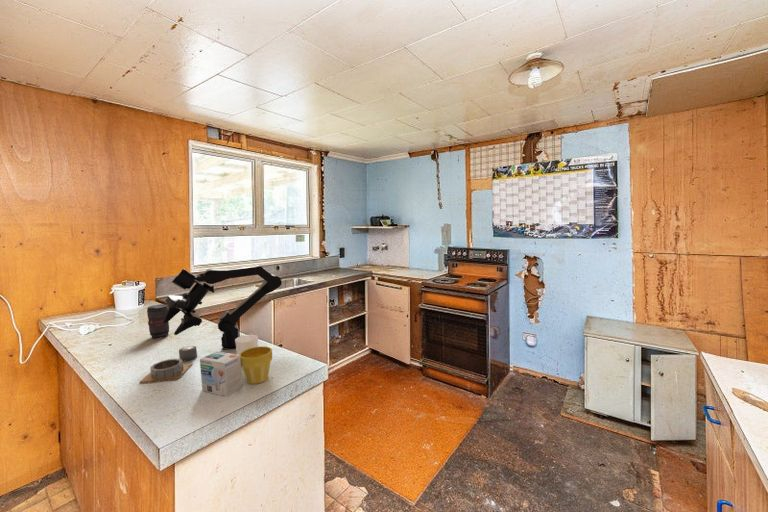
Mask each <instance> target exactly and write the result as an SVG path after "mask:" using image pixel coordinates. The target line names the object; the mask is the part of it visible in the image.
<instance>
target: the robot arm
mask: <svg viewBox="0 0 768 512" xmlns="http://www.w3.org/2000/svg"><path fill="white" fill-rule="evenodd" d="M251 276H258V277H260V278H261V279H263V281H262V283H261V285H260V286H259V287H258V288H257V289H256V290H255V291H253V292H251V294H249V296H247V298H245V299H244V300H243V301H242V302H241V303H239V304H238V305H237V306H236V307H235V308H234V309H232V310H230V311H229V310H228V309H226V310H224V312H223V313H222V314H220V315H219V318H218V319H217V329H218V331H220V332H222V336H221V347H222V348H221V350H232V349H233V348H234V349H236V343H235V339H236V338H238V337H240V335H241V334H240V333H241V332H240V329H239V326H238V324H237V323H238V321H239V320H240V318H241V317H242V316H244V314H246V312H248V311H249V310H250V309H251V308H252V307H254V306H255V305H256V304H257V303H258V302H259V301H260V300H262V298H264V297H265V296H266V295H268V294H270V293H273V292H274V291H275V290H277V289H279V288H280V287H281V286H282V279H281V277H279V276H278V275H277V274H273V273H270V272H269V271H268V270H267V269H264V268H263V266H261V265H259V264H256V265H252V266H245V267H235V268H228V269H227V268H226V269H225V268H208V269H206V270H205V271H204V272H202V273H200V274H196V275H195V274H193V273H192V272H190V271H188V270H187V269H185V268H182V270H181V271H179V273H178V274H177V275H176V276H175V277H174V279H172V281H171V283H172V284H174V285H175V286H177V287H179V288H180V289H183V290H184V291H185V290H189V292H187V293H186V292H185V293H183V294H182V295H168V296H167V298H166V299H165V300H164V301H165V305H167V308H168V310H167V313H166V316H165V318H164V321H163V323H167V322H168V321H169V322H170V321H171V320H172V319H173V318H174V317H175V316H177V315H178V314H179V313H180V312H182V314H183V317H182V318H180V320H181V322H180V324H179V325H178V326H177V328H176V330H175V331H174V333H173V335H175V336H177V335H179V334H181V333H183V332H184V331H186V330H189V329H190V328H193V327H197V326H199V327H200V325H201V324H202V322H203V319H202V318H201V316H199V315H198V314H196V312H197V310H195V309H196V308H197V307H198V306H199V305H202V304H203V302H202V300H203V299H204V298H205V296H206V295H207V294H208V293H209V291H210V292H211V293H215V285H214V284H217V283H221V282H223V281H227V280H229V279H236V278H243V277H251Z"/></svg>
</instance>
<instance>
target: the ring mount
mask: <svg viewBox="0 0 768 512" xmlns="http://www.w3.org/2000/svg"><path fill="white" fill-rule="evenodd" d="M192 366H193V363H192V362H191V363H190V362H189V363H184V362H183V361H182V360H181V359H180V358H170V359H165V360H160V361H158V362H155V363H154V364H153V365H151V366H150V368H149V369H150V372H149V373H148V374H147V375H146V376H144V378H142V379H141V380H140V381H139V384H148V382H150V383H159V381H160V382H169V381H168V380H170V381H176V380H178V379H179V380H180V379H181V378H182V377H183V376H184V375H185V373H187V371H188V370H190V368H191V367H192ZM181 376H182V377H181Z"/></svg>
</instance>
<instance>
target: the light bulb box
mask: <svg viewBox="0 0 768 512" xmlns="http://www.w3.org/2000/svg"><path fill="white" fill-rule="evenodd" d="M199 365H200V366H199V367H200V376H201V377H200V378H201V390H202V391H203V392H207V393H211V394H216V395H220V396H222V397H227V396H229V395H231V394H232V392H233V393H234V392H237V390H239V389H240V388H242V387H243V377H242V375H243V374H242V367H241V360H240V355H237V353H236V354H234V353H228V352H222V351H217V350H216V351H214V352H211V353H210V354H208V355H205V356H203V357H200V359H199Z"/></svg>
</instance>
